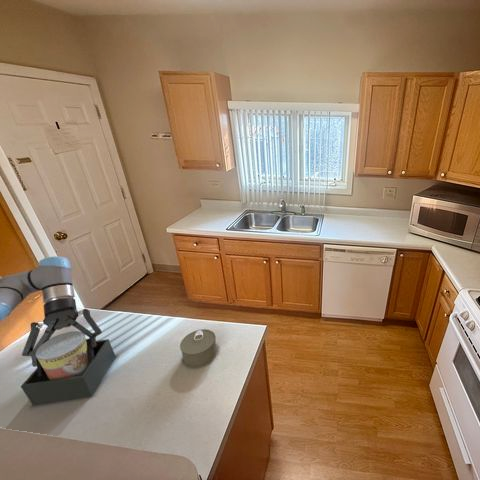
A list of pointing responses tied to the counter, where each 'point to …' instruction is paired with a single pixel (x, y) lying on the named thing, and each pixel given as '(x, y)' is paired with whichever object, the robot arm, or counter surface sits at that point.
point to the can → (199, 348)
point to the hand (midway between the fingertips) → (67, 367)
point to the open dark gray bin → (71, 380)
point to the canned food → (64, 355)
